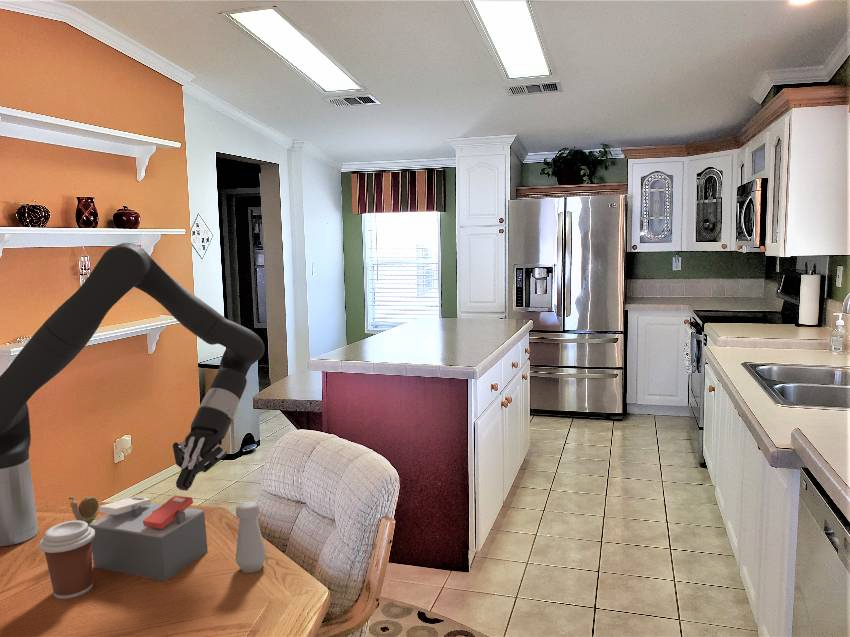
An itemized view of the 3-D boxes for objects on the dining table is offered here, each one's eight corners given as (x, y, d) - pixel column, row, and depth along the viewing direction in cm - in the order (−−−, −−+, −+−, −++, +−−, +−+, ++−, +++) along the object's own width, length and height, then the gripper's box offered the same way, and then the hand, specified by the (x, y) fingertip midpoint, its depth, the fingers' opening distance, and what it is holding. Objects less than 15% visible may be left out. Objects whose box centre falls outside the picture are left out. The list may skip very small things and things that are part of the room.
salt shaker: (258, 576, 124) (253, 511, 122) (230, 574, 125) (225, 509, 123) (271, 561, 129) (267, 498, 128) (245, 559, 131) (240, 497, 129)
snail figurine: (67, 550, 138) (60, 496, 136) (92, 537, 144) (86, 484, 142) (85, 554, 136) (79, 499, 134) (111, 540, 142) (105, 487, 140)
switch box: (93, 567, 130) (88, 515, 129) (139, 540, 141) (135, 492, 140) (165, 581, 123) (160, 526, 122) (207, 551, 135) (203, 501, 133)
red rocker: (144, 526, 126) (142, 520, 125) (175, 500, 134) (174, 494, 133) (162, 529, 124) (160, 522, 124) (193, 502, 132) (191, 497, 132)
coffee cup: (42, 588, 123) (34, 527, 121) (95, 571, 128) (88, 513, 127) (49, 609, 115) (41, 544, 114) (105, 590, 121) (98, 529, 119)
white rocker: (99, 512, 129) (99, 505, 129) (134, 502, 138) (134, 495, 138) (116, 514, 128) (116, 508, 128) (150, 504, 136) (150, 498, 136)
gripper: (181, 403, 142) (144, 478, 132) (232, 406, 137) (197, 484, 127) (200, 420, 147) (166, 493, 137) (249, 424, 142) (217, 499, 133)
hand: (181, 488), depth 132 cm, fingers closed
